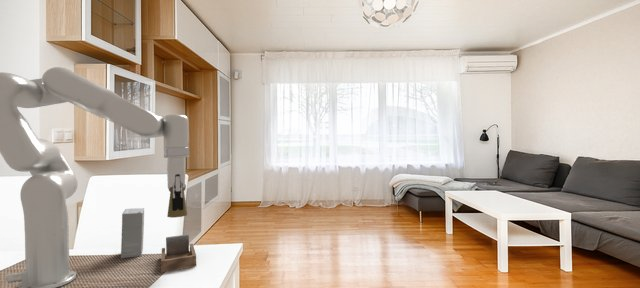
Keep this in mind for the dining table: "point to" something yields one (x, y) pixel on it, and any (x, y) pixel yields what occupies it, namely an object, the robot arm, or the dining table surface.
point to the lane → (178, 260)
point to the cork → (178, 212)
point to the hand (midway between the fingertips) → (177, 208)
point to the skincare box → (132, 232)
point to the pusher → (177, 244)
